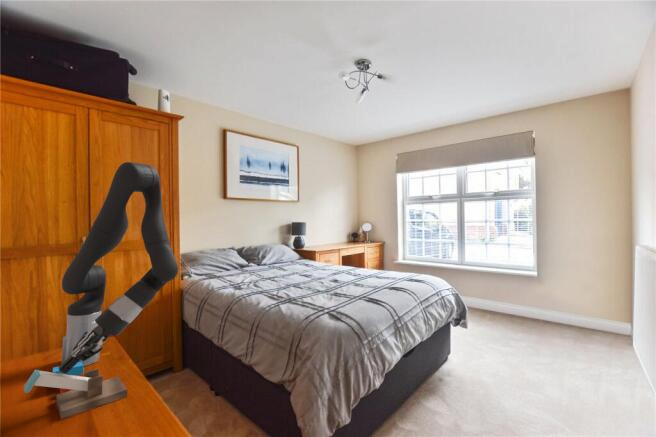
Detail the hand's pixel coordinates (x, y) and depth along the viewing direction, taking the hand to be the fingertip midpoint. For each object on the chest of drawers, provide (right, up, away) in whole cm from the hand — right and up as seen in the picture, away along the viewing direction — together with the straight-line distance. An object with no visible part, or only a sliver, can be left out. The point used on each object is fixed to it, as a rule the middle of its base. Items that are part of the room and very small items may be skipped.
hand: (61, 371), depth 77 cm
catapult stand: (+4, -10, +5) cm, 12 cm away
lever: (-10, -10, +13) cm, 19 cm away
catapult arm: (+4, -6, +5) cm, 9 cm away
